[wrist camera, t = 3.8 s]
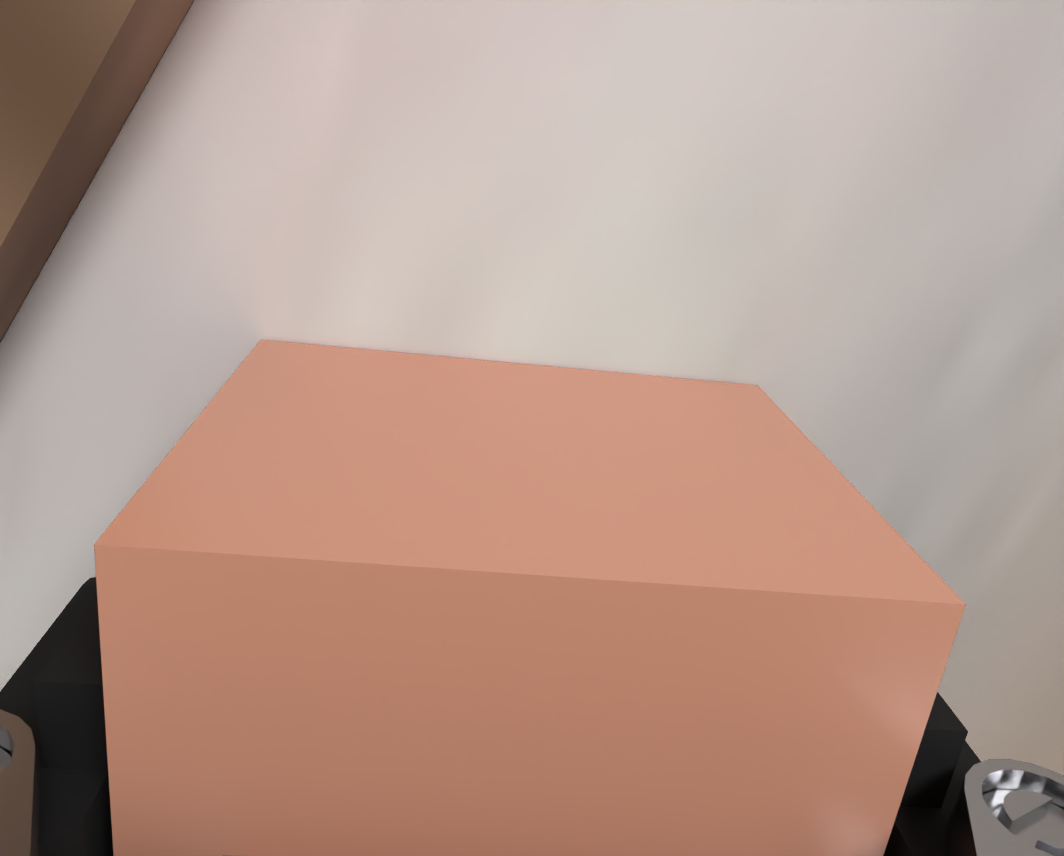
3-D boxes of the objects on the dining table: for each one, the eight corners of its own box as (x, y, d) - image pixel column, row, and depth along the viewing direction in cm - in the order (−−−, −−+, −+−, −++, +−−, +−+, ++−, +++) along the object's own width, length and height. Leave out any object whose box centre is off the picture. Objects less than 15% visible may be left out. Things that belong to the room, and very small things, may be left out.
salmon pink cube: (675, 772, 13) (809, 1224, 8) (256, 753, 13) (105, 1227, 7) (758, 385, 11) (1011, 654, 6) (261, 339, 10) (52, 593, 5)
